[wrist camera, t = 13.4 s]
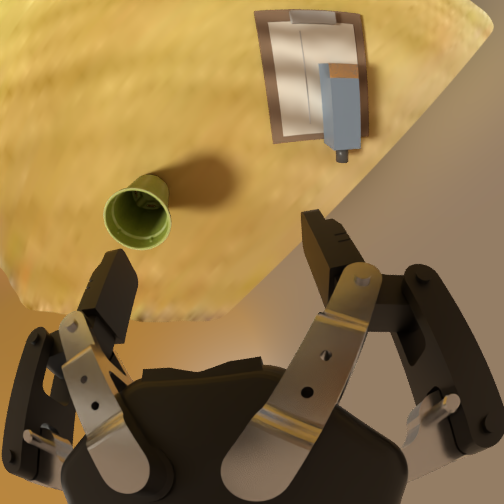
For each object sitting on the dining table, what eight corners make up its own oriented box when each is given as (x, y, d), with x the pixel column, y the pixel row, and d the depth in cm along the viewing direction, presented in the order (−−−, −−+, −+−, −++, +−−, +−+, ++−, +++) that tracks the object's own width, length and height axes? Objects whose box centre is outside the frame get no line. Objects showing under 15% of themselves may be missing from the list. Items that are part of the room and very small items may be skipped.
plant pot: (182, 217, 43) (174, 249, 36) (127, 219, 42) (112, 251, 35) (177, 162, 37) (167, 185, 30) (118, 167, 36) (96, 191, 29)
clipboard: (253, 12, 24) (255, 9, 23) (358, 14, 24) (363, 12, 23) (273, 143, 37) (275, 146, 35) (366, 135, 37) (372, 138, 35)
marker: (318, 63, 29) (328, 63, 26) (345, 64, 29) (357, 64, 26) (324, 157, 38) (334, 166, 35) (348, 155, 38) (360, 164, 35)
